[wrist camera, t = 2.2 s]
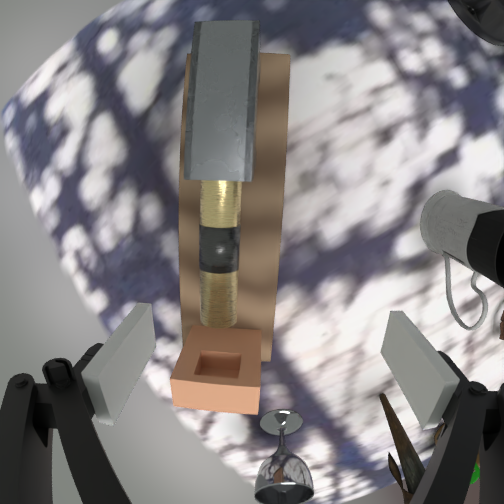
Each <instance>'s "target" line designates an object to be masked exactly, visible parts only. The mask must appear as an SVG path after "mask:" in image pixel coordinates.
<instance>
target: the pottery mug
mask: <svg viewBox="0 0 504 504" xmlns="http://www.w3.org/2000/svg"><path fill="white" fill-rule="evenodd" d="M501 321H502V322H501V323H500V329H501V334H500V338H499V339H502V340H504V311H503V314H502V316H501Z"/></svg>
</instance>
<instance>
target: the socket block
mask: <svg viewBox="0 0 504 504" xmlns="http://www.w3.org/2000/svg"><path fill="white" fill-rule="evenodd" d="M261 335H262V330H254V329H238V328H222V329H216V328H210V327H207V326H200V325H192V328H191V330H190V332H189V335H188V337H187V339H186V342H185V344H184V346H183V349H182V351H181V353H180V356H179V358H178V361H177V363H176V365H175V368H174V370H173V372H172V375H171V377H170V383H171V391H172V398H173V405H174V406H177V407H184V408H191V409H199V410H208V411H217V412H228V413H241V414H257V415H258V407H259V396H260V377H261Z"/></svg>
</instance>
